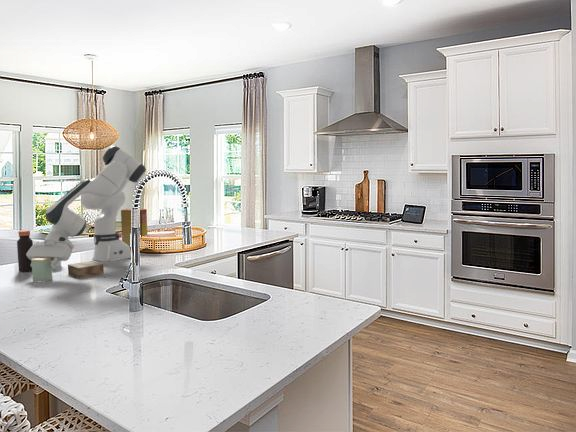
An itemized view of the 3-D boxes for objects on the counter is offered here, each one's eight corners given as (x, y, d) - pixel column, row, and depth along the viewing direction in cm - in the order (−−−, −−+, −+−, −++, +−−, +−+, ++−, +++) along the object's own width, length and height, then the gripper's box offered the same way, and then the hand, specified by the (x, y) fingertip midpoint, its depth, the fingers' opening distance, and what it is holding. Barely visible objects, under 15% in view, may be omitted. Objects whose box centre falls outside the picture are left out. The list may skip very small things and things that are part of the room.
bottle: (27, 272, 230) (25, 231, 228) (15, 272, 231) (12, 231, 229) (37, 269, 237) (35, 230, 235) (25, 269, 238) (23, 229, 236)
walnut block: (93, 270, 235) (92, 260, 234) (103, 274, 227) (103, 264, 226) (68, 274, 226) (67, 264, 226) (78, 278, 218) (77, 268, 218)
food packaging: (148, 247, 300) (147, 208, 297) (142, 250, 290) (141, 210, 288) (128, 247, 301) (126, 208, 298) (121, 250, 292) (120, 210, 289)
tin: (41, 278, 218) (40, 257, 217) (52, 278, 217) (51, 257, 215) (32, 281, 212) (31, 259, 211) (43, 282, 211) (42, 259, 210)
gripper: (31, 237, 221) (17, 262, 213) (70, 238, 217) (57, 263, 209) (38, 245, 226) (25, 270, 217) (77, 246, 222) (65, 271, 214)
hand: (41, 267), depth 213 cm, fingers open, 8 cm apart
